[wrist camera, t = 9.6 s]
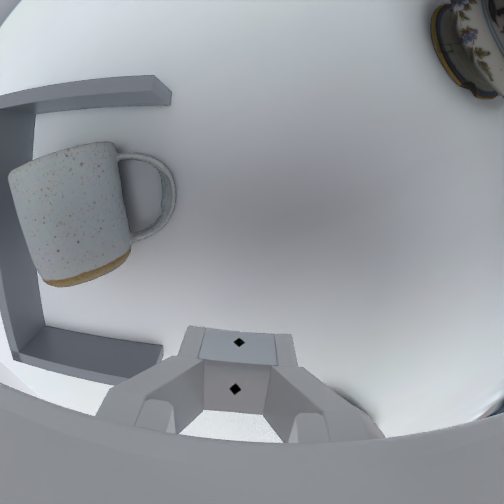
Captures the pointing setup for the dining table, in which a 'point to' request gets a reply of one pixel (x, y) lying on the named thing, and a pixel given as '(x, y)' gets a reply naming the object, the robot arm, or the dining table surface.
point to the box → (17, 253)
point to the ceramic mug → (80, 211)
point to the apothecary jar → (472, 44)
